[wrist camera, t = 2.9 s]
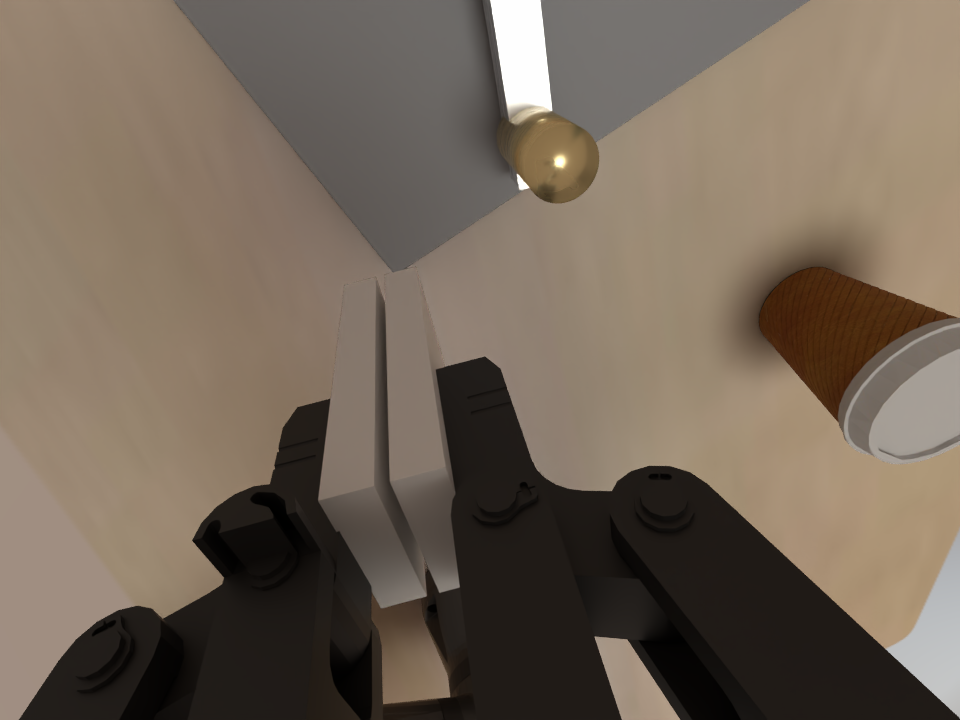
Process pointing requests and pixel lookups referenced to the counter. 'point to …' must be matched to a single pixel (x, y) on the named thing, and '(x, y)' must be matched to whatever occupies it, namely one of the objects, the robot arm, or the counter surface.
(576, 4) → the stand
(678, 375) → the counter surface
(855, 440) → the disposable coffee cup
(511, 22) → the metal ladle
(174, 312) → the counter surface
